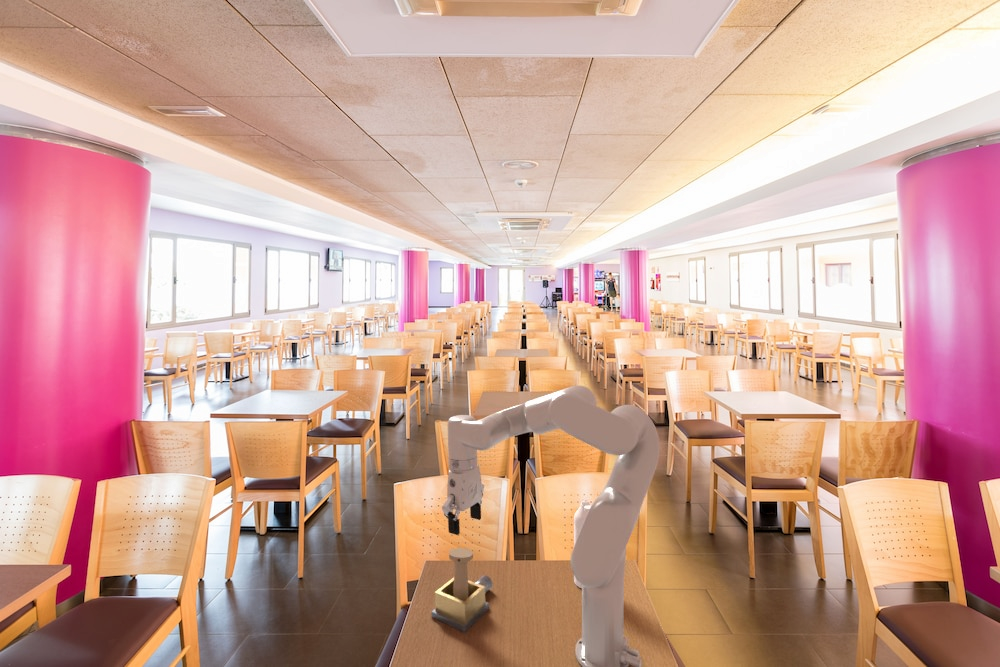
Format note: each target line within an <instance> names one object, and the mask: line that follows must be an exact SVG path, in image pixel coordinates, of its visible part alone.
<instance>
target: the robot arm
mask: <svg viewBox="0 0 1000 667" xmlns="http://www.w3.org/2000/svg"><path fill="white" fill-rule="evenodd" d="M595 395H596V394H595V393H594V392H593V391H592V390H591V389H590V388H589V387H587V386H584V385H573V386H568V387H565V388H563V389H560V390H556V391H554V392H551V393H547V394H546V395H542V396H539V397H536V398H533V399H530V400H527V401H525V402H524V403H521V404H518V405H515V406H511V407H509V408H505V409H503V410H500V411H497V412H494V413H491V414H489V415H488V416H485V417H483V418H480V419H477V420H476V419H475V418H476V417H474V416H472V415H469V414H457V415H453V416H451V417H450V418H449V419H448V420H447V447H448V451H447V452H448V475H447V485H446V486H447V488H446V489H447V491H446V492H447V493H446V494H447V496H446V497H447V498H446V501H445V502H444V503H443V505H442V507H441V510H442V511H443V515H444V517H446V519H447V522H448V533H449V534H452V535H456V536H458V535H460V533H461V532H460V531H461V530H460V529H461V528H460V519H459V515H460V513H461V512H464V511H466V510H470V511H469V512H470V518H471V519H475V520H478V521H480V520H481V519H482V508H481V507H482V503H483V500H482V499H483V497H484V490H485V484H483V482H482V474H481V470H480V467H479V464H478V451H483V452H484V451H488V450H490V449H491V448H494V447H495V446H497V445H498V444H500V443H502V442H503V441H505V440H508V439H509V438H510V439H511V438H513V437H516V436H519V435H523V434H527V433H531V432H532V433H533V434H535V435H544V434H547V433H549V432H553V431H556V430H557V431H558V430H560V431H563V432H564V433H565V434H567V435H569V436H571V437H573V438H576V439H577V440H579V441H580V442H583V443H585V444H587V445H589V446H591V447H594V448H595V449H597V450H599V451H601V452H603V453H605V454H608V455H612V456H617V457H616V459H615V462H614V464H613V466H612V470H611V473H610V475H609V477H608V480H607V482H606V484H605V486H604V488H603V489H602V491H601V492H600V493H599V494H598V496H597V498H596V499H595V501H594V502H593V503H592V505H590V506H591V508H590V510H589V512H588V514H587V516H586V518H585V521H584V523H583V526H582V528H581V531H580V533H579V536H578V538H577V541H576V543H575V546H574V545H573V549H572V550H571V551H572V552H571V555H570V561H569V562H570V568H571V572H572V574H573V577H574V576H575V578H576V579H577V580H578V581H579V583H581V584H582V588H581V637H580V638H579V639H578V640H577V642H576V644H575V657H576V660H577V661H578V663H579V664H580V666H581V667H629V666H630V665H631V666H632V667H642V660H643V659H642V658H640V650H637V649H635V648H631V647H630V646H629V645H628V638H627V637H625V636H624V620H625V619H624V616H625V615H624V614H625V613H624V609H625V607H624V606H625V604H624V603H625V602H624V600H625V599H624V596H625V569H626V568H625V567H626V559H627V558H626V555H627V546H628V543H629V541H630V538H631V537H632V536H631V535H632V534H633V531H634V530H635V527H636V525H637V523H638V520H639V516H640V512H641V508H642V506H643V503H644V501H645V498H646V495H647V493H648V491H649V488H650V485H651V483H652V481H653V478H654V475H655V472H656V469H657V466H658V463H659V457H660V439H659V434H658V431H657V428H656V426H655V424H654V422H653V420H652V419H651V418H650V416H649V415H648V414H647V413H646V412H645V411H644V410H643V409H641V408H640V407H639V406H636V405H634V404H624V405H620V406H617V407H616V408H613V409H612V410H611V411H608V410H607V409H604V408H602V407H599V406H597V397H596V396H595ZM453 511H455V512H454V513H453Z"/></svg>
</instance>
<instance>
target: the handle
mask: <svg viewBox="0 0 1000 667" xmlns="http://www.w3.org/2000/svg"><path fill="white" fill-rule="evenodd" d="M448 558H449V560H450V561H453V562H454V573H453V574H454V575H453V577H454V597H455V598H457V599H460V600H462V601H465V600H466V599H467V598H468V580H469V574H468V573H469V572H468V571H469V570H468V563H469V562H471V561H472V560H473V558H474V551H473V550H472V549H468V548H466V547H465V548H463V547H458V548H457V547H456V548H451V549H450V551H448Z"/></svg>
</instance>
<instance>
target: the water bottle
mask: <svg viewBox="0 0 1000 667" xmlns="http://www.w3.org/2000/svg"><path fill="white" fill-rule="evenodd" d="M591 506H592V505H591V504H590V501H589V500H588V499H582V500H580V505H579V507H578V508H577V510H576V512H574V516H573V540H574V542H573V547H574V546H575V543H576V541H577V538H578V536H579V533H580V531H581V528H582V526H583V523H584V521H585V518H586V516H587V514H588V512H589V510H590V508H591ZM573 581H574V582H573V583H574V585H575V586H576V587H578V589H582V584H581V583H579V581H578V580H577V579H576V578H575V576H574V575H573Z"/></svg>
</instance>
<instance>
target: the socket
mask: <svg viewBox="0 0 1000 667" xmlns="http://www.w3.org/2000/svg"><path fill="white" fill-rule="evenodd" d="M492 587H493V580H492V579H491V577H490V576H489V575H487V574H484V575H482V576H481V577H480V578H478V579H477V580H476V581H475V582H474V581H472V580H469V579H468V598H467V599H466V600H465V601H462V600H460V599H457V598H455V597H454V576H453V577H452V578H451V579H450V580H448V581H447V582H446V583H444V584H443V585H442V586H441V587H440V588H438V589H437V590H436V591H434V603H435V604H434V609H433V610H432V611H431V618H433V619H435V620H437V621H439V622H442V623H444V624H446V625H448V626H450V625H451V627H453V628H454V629H457V630H459V631H461V632H463V633H466V632H467V631H468V629H470V628H471V627H472V625H474V624H475V623H476V622H477V621H478V620H479V618H480V617H482V616H483V615H484V614H485V613H486V612H487V611H488V610H489V608H490V603H489V602H488V601H486V593H487V592H488V591H490V590H491V589H492Z"/></svg>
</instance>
